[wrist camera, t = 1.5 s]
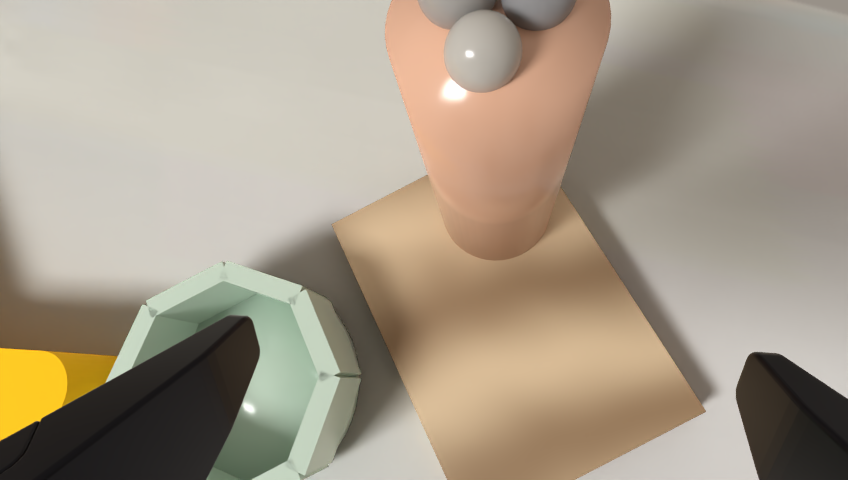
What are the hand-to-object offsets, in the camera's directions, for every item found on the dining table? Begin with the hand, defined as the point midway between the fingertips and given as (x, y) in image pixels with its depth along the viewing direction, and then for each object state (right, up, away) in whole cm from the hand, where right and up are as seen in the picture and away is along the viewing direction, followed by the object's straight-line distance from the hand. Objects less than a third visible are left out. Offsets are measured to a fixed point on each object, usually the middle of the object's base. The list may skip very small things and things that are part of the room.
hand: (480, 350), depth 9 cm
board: (+2, -1, +13) cm, 13 cm away
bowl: (-8, -4, +13) cm, 16 cm away
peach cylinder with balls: (+2, +3, +13) cm, 14 cm away
